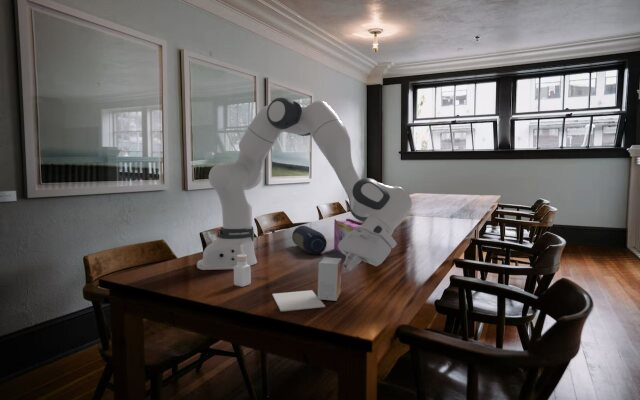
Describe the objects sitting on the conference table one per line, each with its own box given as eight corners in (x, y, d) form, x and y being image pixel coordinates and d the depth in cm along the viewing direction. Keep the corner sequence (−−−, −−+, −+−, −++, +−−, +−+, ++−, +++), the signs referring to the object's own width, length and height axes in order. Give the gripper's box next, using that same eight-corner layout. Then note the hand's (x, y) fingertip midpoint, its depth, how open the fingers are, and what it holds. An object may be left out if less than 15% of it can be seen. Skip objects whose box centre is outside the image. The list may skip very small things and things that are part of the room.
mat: (280, 311, 104) (280, 310, 104) (272, 294, 117) (272, 293, 117) (325, 306, 107) (325, 305, 107) (311, 291, 120) (311, 290, 120)
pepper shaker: (242, 287, 124) (241, 257, 124) (233, 285, 127) (232, 255, 126) (251, 284, 128) (250, 255, 127) (242, 282, 130) (241, 253, 129)
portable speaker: (290, 246, 189) (289, 225, 188) (310, 244, 192) (310, 223, 191) (306, 257, 165) (306, 233, 164) (329, 255, 169) (328, 232, 168)
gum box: (332, 248, 183) (332, 218, 181) (348, 247, 185) (348, 218, 184) (352, 260, 160) (352, 226, 159) (370, 258, 162) (370, 225, 161)
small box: (336, 301, 111) (338, 264, 110) (316, 299, 112) (318, 262, 111) (341, 293, 119) (342, 258, 118) (322, 291, 120) (323, 256, 119)
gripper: (350, 221, 129) (323, 254, 125) (387, 230, 110) (357, 269, 107) (362, 234, 131) (335, 266, 128) (400, 245, 113) (371, 283, 109)
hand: (345, 268), depth 117 cm, fingers closed
